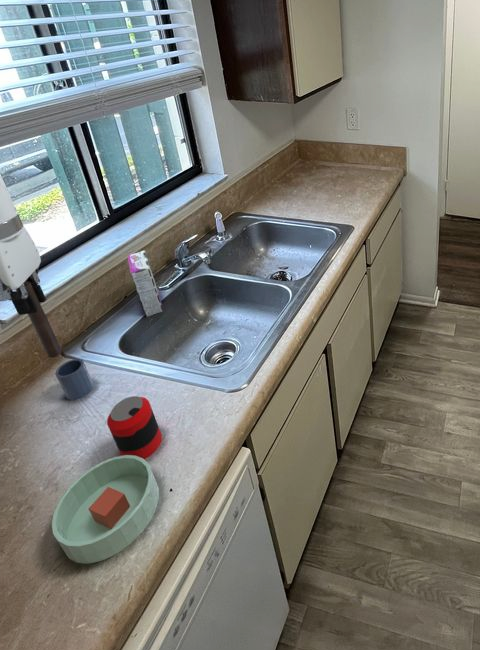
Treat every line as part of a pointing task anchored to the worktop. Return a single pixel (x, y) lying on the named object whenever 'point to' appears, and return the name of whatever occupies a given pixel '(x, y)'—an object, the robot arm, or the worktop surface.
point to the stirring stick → (43, 326)
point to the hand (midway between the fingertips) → (32, 306)
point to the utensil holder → (74, 379)
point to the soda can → (134, 427)
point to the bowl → (72, 510)
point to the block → (109, 507)
